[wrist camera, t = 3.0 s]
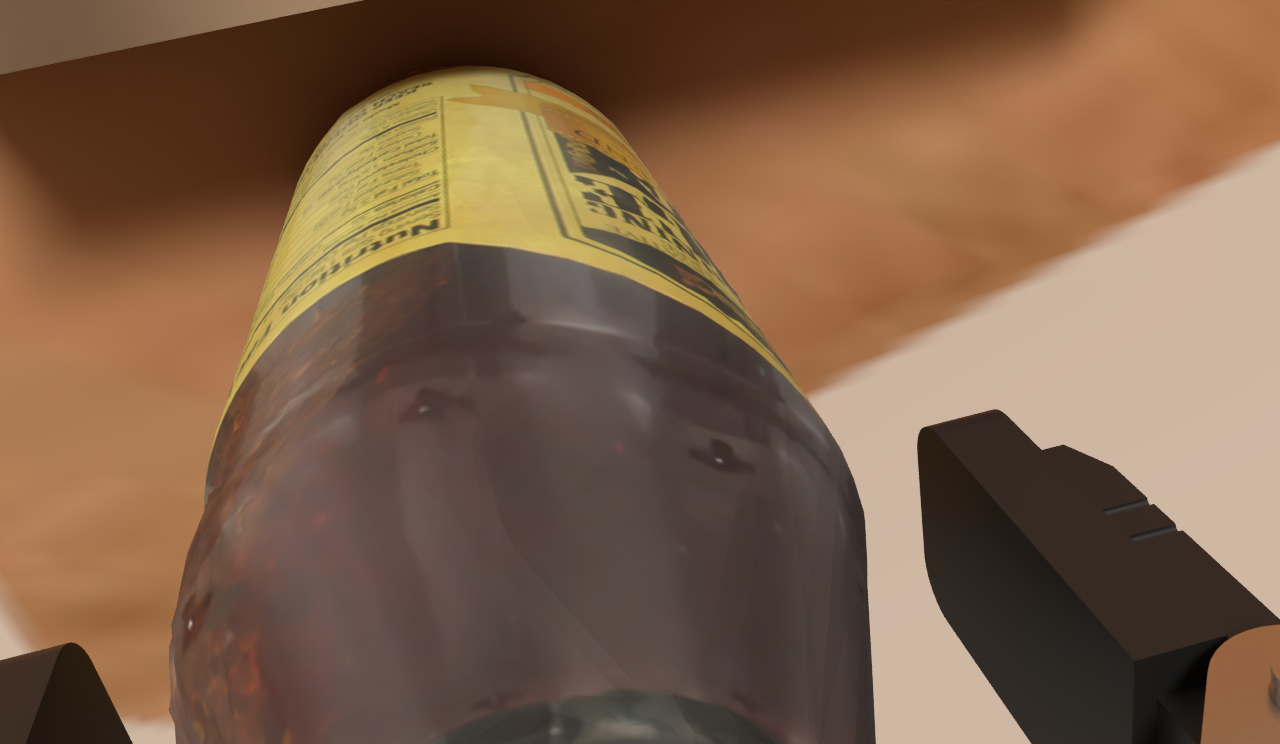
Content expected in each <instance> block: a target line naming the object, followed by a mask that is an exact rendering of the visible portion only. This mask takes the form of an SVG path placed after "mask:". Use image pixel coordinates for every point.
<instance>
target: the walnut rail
mask: <svg viewBox="0 0 1280 744" xmlns="http://www.w3.org/2000/svg"><path fill="white" fill-rule="evenodd" d="M357 1H362V0H0V75H1V74H6V73H11V72H16V71H20V70H25V69H30V68H35V67H40V66H45V65H50V64H55V63H59V62H64V61H69V60H74V59H79V58H84V57H89V56H94V55H98V54H103V53H108V52H113V51H118V50H123V49H128V48H133V47H137V46H142V45H147V44H152V43H157V42H162V41H167V40H172V39H176V38H181V37H186V36H191V35H196V34H201V33H206V32H211V31H215V30H220V29H225V28H230V27H235V26H240V25H245V24H250V23H254V22H259V21H264V20H269V19H274V18H279V17H284V16H289V15H293V14H298V13H303V12H308V11H313V10H318V9H323V8H328V7H332V6H337V5H342V4H347V3H352V2H357Z"/></svg>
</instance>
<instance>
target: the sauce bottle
mask: <svg viewBox="0 0 1280 744" xmlns="http://www.w3.org/2000/svg"><path fill="white" fill-rule="evenodd" d="M871 661H872V660H871V642H870V624H869V606H868V588H867V550H866V532H865V518H864V511H863V508H862V505H861V501H860V498H859V495H858V491H857V488H856V485H855V482H854V478H853V476H852V474H851V471H850V469H849V467H848V465H847V462H846V460H845V458H844V456H843V453H842V451H841V449H840V447H839V445H838V444H837V442H836V441H835V439H834V438H833V436H832V434H831V433H830V431H829V429H828V428H827V426H826V425H825V423H824V422H823V420H822V419H821V417H820V416H819V414H818V413H817V411H816V410H815V408H814V407H813V406H812V404H811V403H810V401H809V400H808V398H807V397H806V395H805V394H804V392H803V391H802V390H801V388H800V387H799V385H798V384H797V382H796V381H795V379H794V378H793V376H792V375H791V373H790V372H789V370H788V369H787V367H786V366H785V364H784V363H783V361H782V360H781V358H780V357H779V356H778V354H777V353H776V351H775V350H774V349H773V347H772V346H771V344H770V343H769V342H768V340H767V339H766V337H765V336H764V335H763V333H762V332H761V330H760V329H759V328H758V326H757V325H756V324H755V322H754V321H753V319H752V318H751V317H750V315H749V314H748V312H747V311H746V309H745V308H744V306H743V304H742V302H741V300H740V299H739V297H738V295H737V293H736V292H735V291H734V290H733V289H732V288H731V287H730V285H729V284H728V283H727V281H726V280H725V278H724V276H723V275H722V273H721V272H720V271H719V270H718V268H717V267H716V266H715V265H714V263H713V262H712V260H711V259H710V257H709V256H708V254H707V253H706V251H705V250H704V249H703V248H702V246H701V245H700V244H699V243H698V242H697V240H696V239H695V237H694V236H693V234H692V233H691V231H690V230H689V228H688V227H687V225H686V224H685V222H684V221H683V219H682V218H681V216H680V215H679V213H678V212H677V210H676V209H675V208H674V206H673V205H672V203H671V202H670V201H669V199H668V198H667V196H666V195H665V193H664V192H663V191H662V189H661V188H660V186H659V185H658V184H657V182H656V181H655V179H654V178H653V177H652V175H651V174H650V172H649V171H648V169H647V168H646V167H645V165H644V164H643V162H642V161H641V160H640V158H639V157H638V155H637V154H636V153H635V151H634V150H633V148H632V147H631V145H630V144H629V143H628V142H627V140H626V139H625V138H624V136H623V135H622V134H621V133H620V131H619V130H618V129H617V127H616V126H615V125H614V124H613V123H612V122H611V121H610V120H609V119H607V118H606V117H605V116H604V115H603V114H602V113H601V112H600V111H598V110H597V109H596V108H594V107H593V106H592V105H590V104H589V103H588V102H586V101H585V100H583V99H582V98H580V97H578V96H577V95H575V94H574V93H572V92H570V91H568V90H566V89H564V88H563V87H562V86H560V85H559V84H557V83H555V82H553V81H551V80H549V79H544V78H539V77H536V76H533V75H530V74H528V73H524V72H519V71H515V70H511V69H507V68H497V67H492V66H471V65H464V66H444V67H433V68H424V69H418V70H415V71H412V72H410V73H408V74H406V75H404V76H402V77H400V78H398V79H397V80H395V81H394V82H393V83H391V84H390V85H388V86H385V87H383V88H382V89H380V90H378V91H376V92H375V93H373V94H372V95H370V96H368V97H367V98H365V99H364V100H362V101H361V102H359V103H358V104H356V105H355V106H353V107H352V108H350V109H348V110H347V111H345V112H344V113H343V114H342V115H341V116H340V118H339V119H338V120H337V121H336V123H335V124H334V125H333V126H332V127H331V129H330V130H329V131H328V132H327V134H326V135H325V136H324V137H323V139H322V140H321V142H320V143H319V144H318V146H317V147H316V149H315V150H314V152H313V154H312V155H311V157H310V159H309V160H308V162H307V164H306V166H305V168H304V170H303V173H302V175H301V177H300V179H299V181H298V183H297V186H296V189H295V193H294V196H293V199H292V202H291V205H290V208H289V211H288V214H287V217H286V220H285V223H284V226H283V229H282V232H281V235H280V238H279V241H278V245H277V248H276V251H275V254H274V257H273V260H272V263H271V266H270V269H269V272H268V275H267V278H266V281H265V284H264V288H263V291H262V294H261V297H260V300H259V303H258V306H257V309H256V313H255V316H254V319H253V322H252V325H251V329H250V332H249V335H248V338H247V341H246V344H245V347H244V350H243V353H242V356H241V359H240V362H239V365H238V368H237V371H236V374H235V377H234V381H233V384H232V387H231V389H230V393H229V396H228V399H227V402H226V405H225V408H224V411H223V414H222V417H221V420H220V423H219V426H218V429H217V432H216V435H215V438H214V442H213V446H212V449H211V453H210V457H209V460H208V467H207V473H206V480H205V488H204V513H203V516H202V519H201V521H200V523H199V526H198V528H197V530H196V533H195V536H194V538H193V541H192V543H191V546H190V549H189V551H188V554H187V558H186V563H185V568H184V573H183V577H182V582H181V587H180V592H179V597H178V602H177V608H176V611H175V615H174V618H173V621H172V640H171V643H170V647H169V667H170V680H171V700H170V707H169V711H170V714H171V716H172V719H173V721H174V723H175V733H176V734H175V735H176V744H876V742H875V741H876V740H875V720H874V699H873V679H872V662H871Z"/></svg>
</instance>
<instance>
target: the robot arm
mask: <svg viewBox="0 0 1280 744" xmlns="http://www.w3.org/2000/svg"><path fill="white" fill-rule="evenodd" d="M917 449H918V465H919V466H918V467H919V481H920V496H921V510H922V525H923V538H924V539H923V540H924V554H925V562H926V568H927V572H928V577H929V580H930V584H931V586H932V590H933V593H934V595H935V598H936V600H937V603H938V605H939V607H940V609H941V611H942V613H943V615H944V617H945V618H946V620H947V621H948V623H949V624H950V626H951V627H952V629H953V630H954V632H955V633H956V635H957V636H958V637H959V639H960V640H961V642H962V643H963V645H964V646H965V648H966V649H967V651H968V652H969V653H970V655H971V656H972V658H973V659H974V661H975V662H976V664H977V665H978V667H979V668H980V669H981V671H982V672H983V674H984V675H985V677H986V678H987V680H988V681H989V683H990V684H991V685H992V687H993V688H994V690H995V691H996V693H997V694H998V696H999V697H1000V698H1001V700H1002V701H1003V703H1004V704H1005V706H1006V707H1007V709H1008V710H1009V712H1010V713H1011V714H1012V716H1013V717H1014V719H1015V720H1016V721H1017V723H1018V725H1019V726H1020V728H1021V729H1022V731H1023V732H1024V733H1025V735H1026V736H1027V738H1028V739H1029V741H1030V742H1031V744H1280V619H1279V618H1278V617H1276V616H1275V615H1274V614H1273V613H1272V612H1271V611H1270V610H1269V609H1268V608H1267V607H1265V606H1264V605H1263V604H1262V603H1261V602H1260V601H1259V600H1258V599H1257V598H1256V597H1255V596H1254V595H1253V594H1251V593H1250V592H1249V591H1248V590H1247V589H1246V588H1245V587H1244V586H1243V585H1242V584H1241V583H1239V582H1238V581H1237V580H1236V579H1235V578H1234V577H1233V576H1232V575H1231V574H1230V573H1229V572H1227V571H1226V570H1225V569H1224V568H1223V567H1222V566H1221V565H1220V564H1219V563H1218V562H1217V561H1215V560H1214V559H1213V558H1212V557H1211V556H1210V555H1209V554H1208V553H1207V552H1206V551H1204V550H1203V549H1202V548H1201V547H1200V546H1199V545H1198V544H1197V543H1196V542H1195V541H1194V540H1193V539H1192V538H1190V537H1189V536H1188V535H1187V534H1186V533H1185V532H1184V531H1179V532H1178V531H1177V529H1176V525H1175V523H1174V522H1173V521H1172V520H1171V519H1170V518H1169V517H1168V516H1167V515H1165V514H1164V513H1163V512H1162V511H1161V510H1160V509H1159V508H1158V507H1157V506H1156V505H1155V504H1152V505H1149V503H1148V500H1147V497H1146V496H1145V495H1144V494H1143V493H1141V492H1140V491H1139V490H1138V489H1137V488H1136V487H1135V486H1134V485H1133V484H1132V483H1130V482H1129V481H1128V480H1127V479H1126V478H1125V477H1124V476H1123V475H1122V474H1121V473H1120V472H1118V471H1117V470H1116V469H1115V468H1114V467H1113V466H1111V465H1109V464H1106V463H1104V462H1102V461H1100V460H1097V459H1095V458H1093V457H1090V456H1088V455H1086V454H1084V453H1081V452H1079V451H1077V450H1075V449H1072V448H1070V447H1067V446H1065V445H1060V446H1056V447H1052V448H1049V449H1045V450H1041V449H1040V448H1039V447H1038V446H1037V445H1036V444H1035V443H1034V442H1033V441H1032V440H1031V439H1030V438H1029V437H1028V436H1027V435H1026V434H1025V433H1024V432H1023V431H1022V430H1021V429H1020V428H1019V427H1018V426H1017V425H1016V424H1015V423H1014V422H1013V421H1012V420H1011V419H1010V418H1009V417H1008V416H1007V415H1005V414H1004V413H1003V412H1002V411H1000V410H996V409H994V410H990V411H986V412H982V413H978V414H974V415H970V416H966V417H962V418H958V419H954V420H950V421H947V422H943V423H939V424H935V425H931V426H927V427H924V428H922V429H921V430H920V433H919V436H918V443H917ZM0 744H133V743H132V741H131V740H130V737H129V735H128V733H127V731H126V729H125V727H124V725H123V723H122V721H121V719H120V717H119V715H118V713H117V711H116V709H115V707H114V705H113V703H112V701H111V699H110V697H109V695H108V693H107V691H106V689H105V687H104V685H103V683H102V681H101V679H100V677H99V675H98V673H97V671H96V669H95V667H94V665H93V663H92V661H91V659H90V657H89V656H88V654H87V653H86V652H85V650H84V649H83V648H82V647H81V646H79V645H78V644H76V643H67V644H63V645H59V646H55V647H51V648H47V649H43V650H39V651H35V652H31V653H27V654H24V655H20V656H16V657H12V658H8V659H4V660H0Z"/></svg>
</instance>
